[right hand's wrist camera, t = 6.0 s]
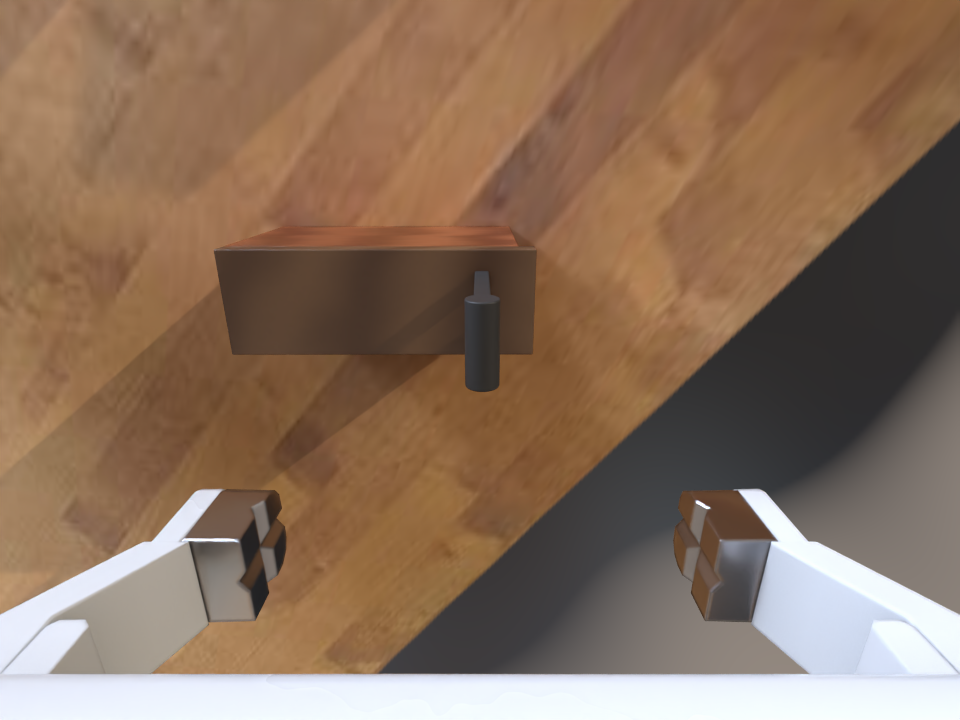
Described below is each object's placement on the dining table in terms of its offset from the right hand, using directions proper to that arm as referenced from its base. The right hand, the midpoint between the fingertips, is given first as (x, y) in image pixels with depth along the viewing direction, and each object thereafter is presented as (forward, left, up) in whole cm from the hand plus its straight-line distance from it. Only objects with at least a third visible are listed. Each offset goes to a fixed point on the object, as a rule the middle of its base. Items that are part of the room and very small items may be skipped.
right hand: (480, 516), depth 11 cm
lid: (-2, -5, -18) cm, 19 cm away
